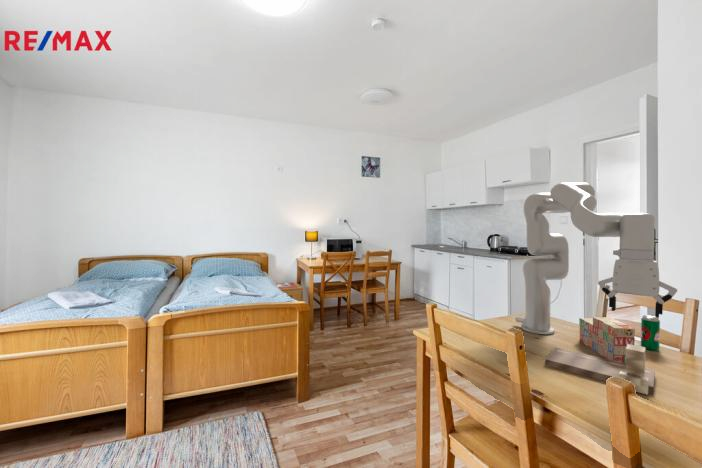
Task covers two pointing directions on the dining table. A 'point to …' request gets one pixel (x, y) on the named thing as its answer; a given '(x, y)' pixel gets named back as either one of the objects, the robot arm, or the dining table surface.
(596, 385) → the dining table surface
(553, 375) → the dining table surface
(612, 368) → the board
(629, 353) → the beige block
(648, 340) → the soda can
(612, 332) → the stack of blocks
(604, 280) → the robot arm
